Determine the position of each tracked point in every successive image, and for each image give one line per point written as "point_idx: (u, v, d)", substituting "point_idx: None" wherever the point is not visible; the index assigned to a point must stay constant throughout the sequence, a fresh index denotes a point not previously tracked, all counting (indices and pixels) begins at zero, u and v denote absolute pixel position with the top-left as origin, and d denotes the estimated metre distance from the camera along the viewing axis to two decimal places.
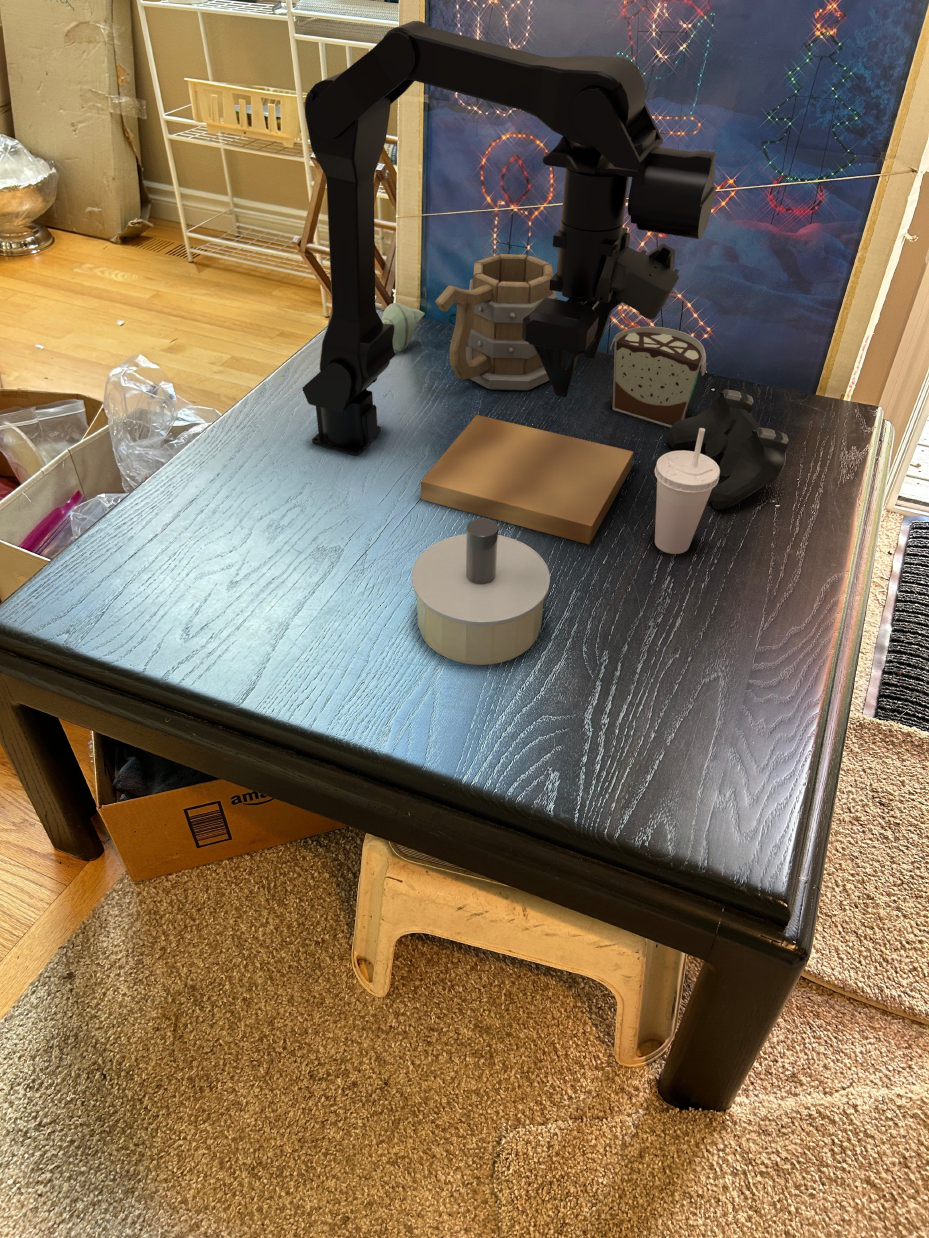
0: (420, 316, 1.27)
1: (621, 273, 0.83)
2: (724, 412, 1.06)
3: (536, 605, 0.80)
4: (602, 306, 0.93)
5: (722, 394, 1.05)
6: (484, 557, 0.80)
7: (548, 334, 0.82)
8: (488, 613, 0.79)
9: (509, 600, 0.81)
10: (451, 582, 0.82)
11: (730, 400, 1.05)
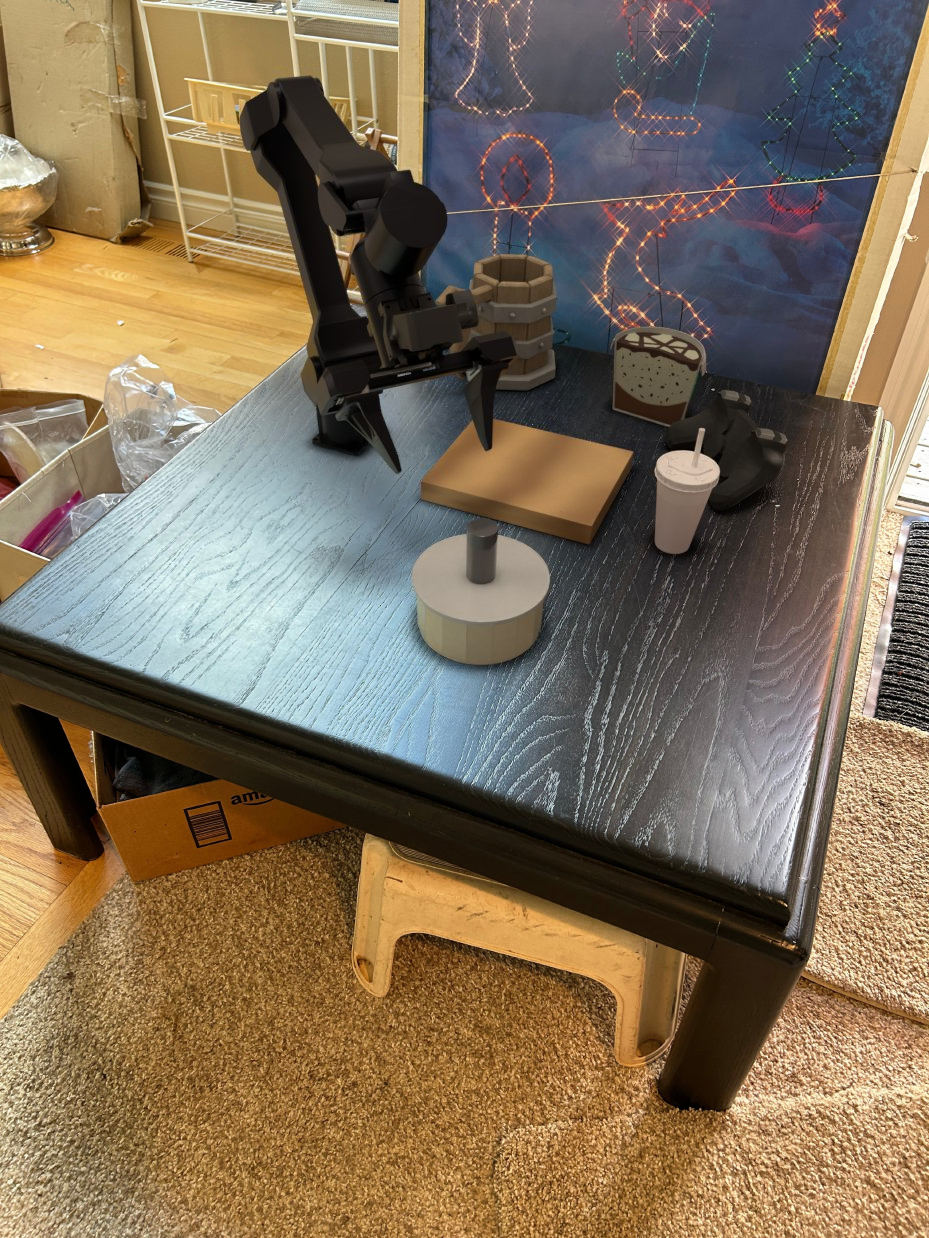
0: None
1: (392, 322, 0.79)
2: (722, 412, 1.06)
3: (536, 605, 0.80)
4: (477, 390, 0.84)
5: (720, 394, 1.05)
6: (484, 557, 0.80)
7: (320, 395, 0.81)
8: (488, 613, 0.79)
9: (509, 600, 0.81)
10: (451, 582, 0.82)
11: (728, 400, 1.04)
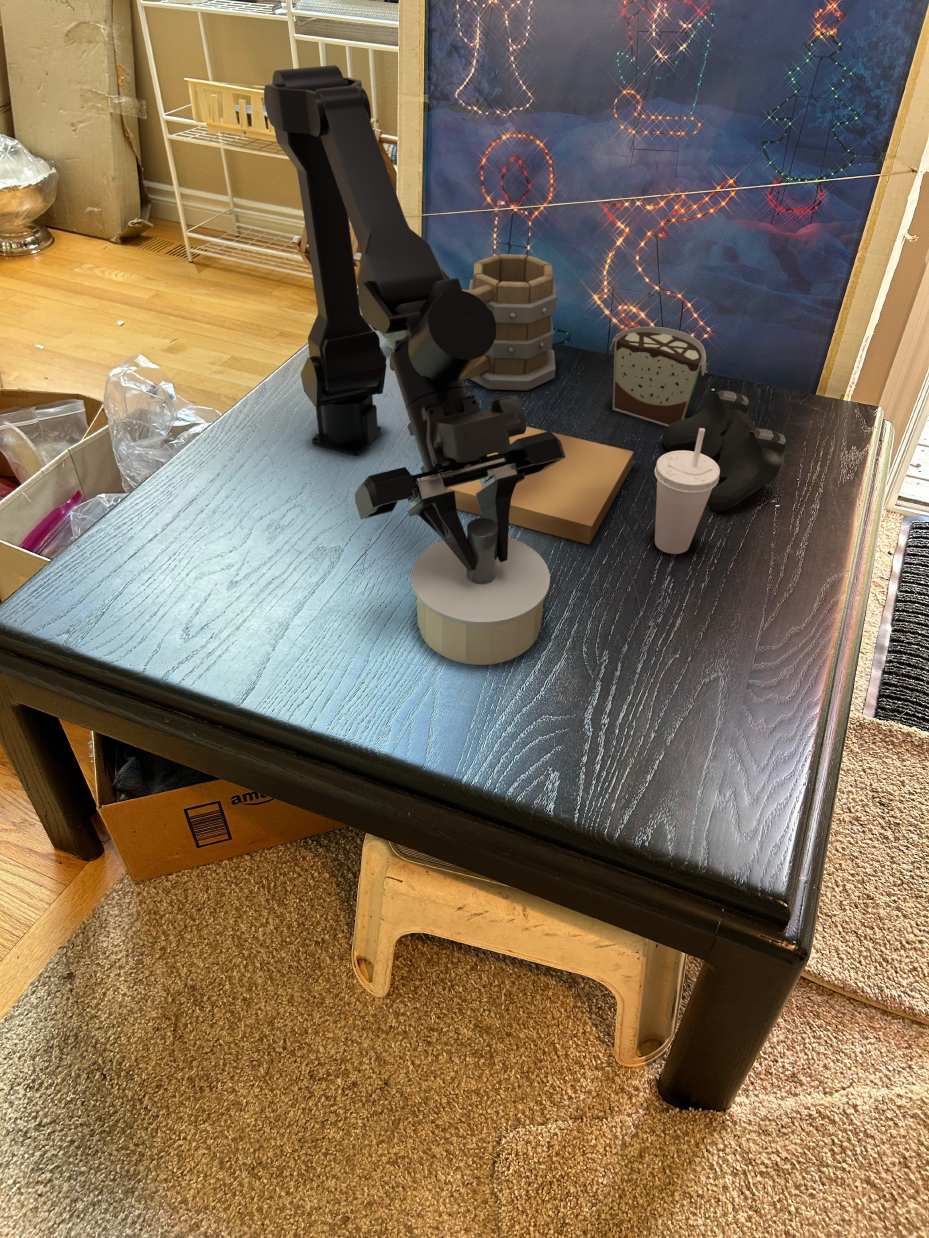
0: None
1: (437, 429, 0.76)
2: (720, 413, 1.06)
3: (536, 605, 0.80)
4: (491, 499, 0.81)
5: (717, 395, 1.05)
6: (484, 557, 0.80)
7: (362, 502, 0.78)
8: (488, 613, 0.79)
9: (509, 600, 0.81)
10: (451, 582, 0.82)
11: (725, 401, 1.04)
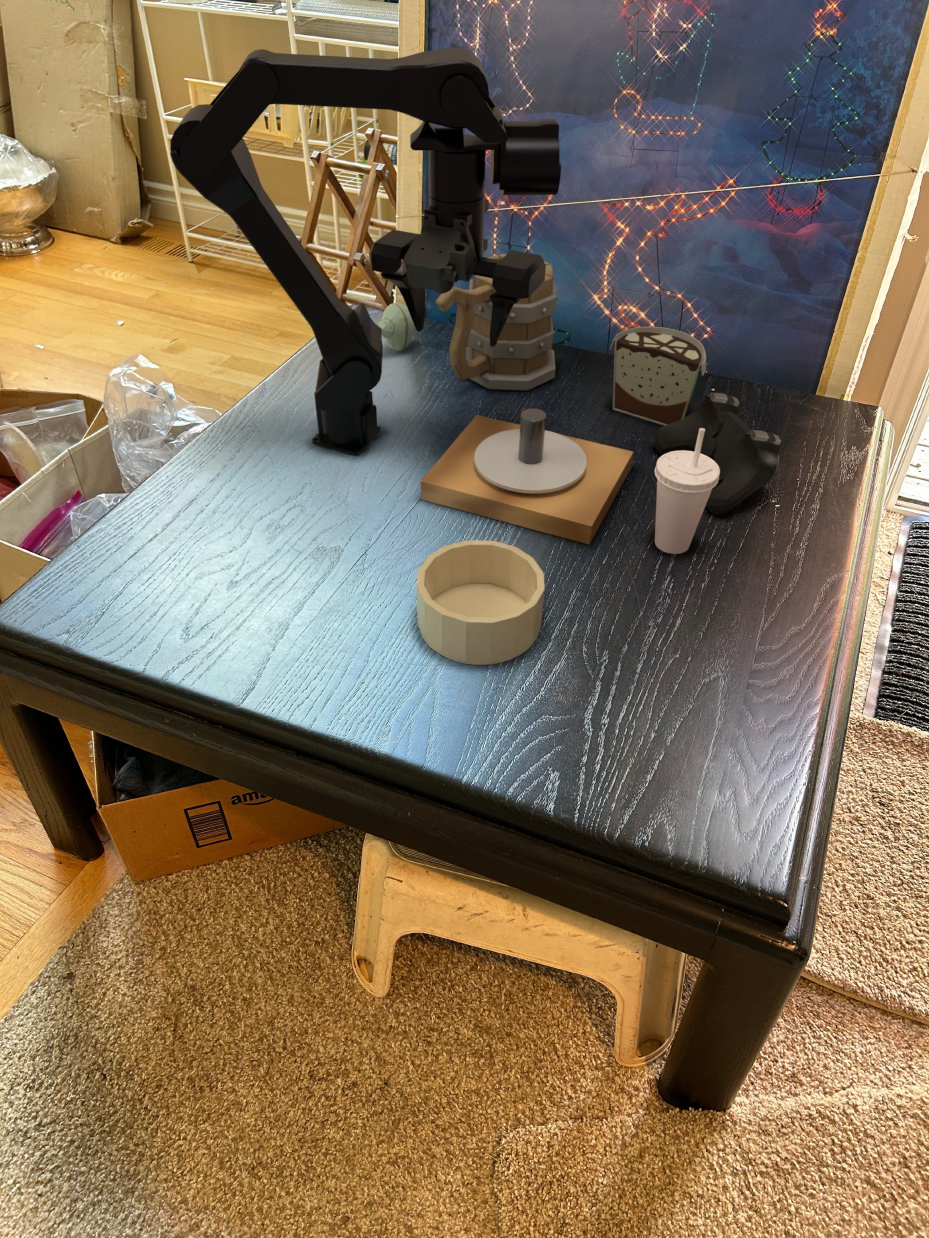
0: None
1: None
2: (711, 415, 1.05)
3: (585, 469, 1.01)
4: None
5: (708, 397, 1.05)
6: (538, 439, 0.99)
7: None
8: (554, 481, 0.99)
9: (563, 469, 1.00)
10: (512, 467, 1.01)
11: (717, 403, 1.04)
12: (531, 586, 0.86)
